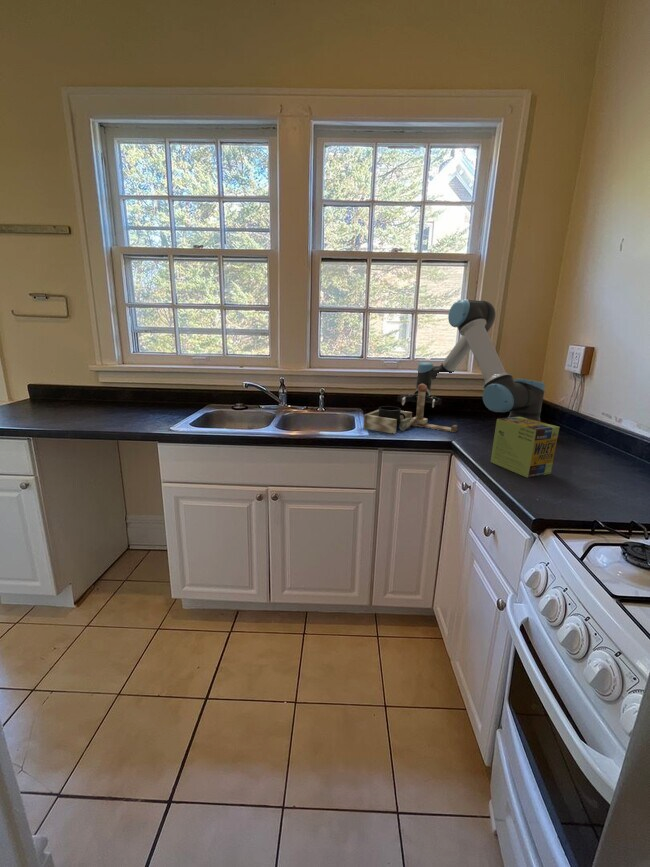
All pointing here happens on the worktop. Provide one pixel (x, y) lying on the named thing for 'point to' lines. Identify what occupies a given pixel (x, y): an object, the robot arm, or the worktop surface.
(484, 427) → the worktop surface
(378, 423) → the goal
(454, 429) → the rail
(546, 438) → the protein box
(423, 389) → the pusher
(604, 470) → the worktop surface
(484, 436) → the worktop surface
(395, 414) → the mug
